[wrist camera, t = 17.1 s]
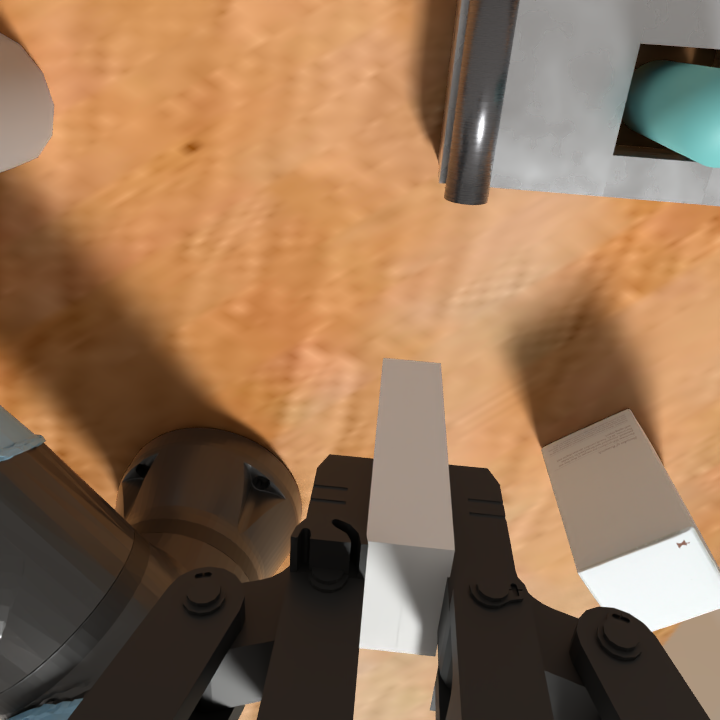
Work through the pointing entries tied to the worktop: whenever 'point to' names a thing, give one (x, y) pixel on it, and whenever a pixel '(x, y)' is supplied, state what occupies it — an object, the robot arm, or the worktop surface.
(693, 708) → the robot arm
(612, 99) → the plate with side rollers
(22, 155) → the cup
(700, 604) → the supplement box
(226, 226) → the worktop surface
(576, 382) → the worktop surface
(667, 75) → the pin
